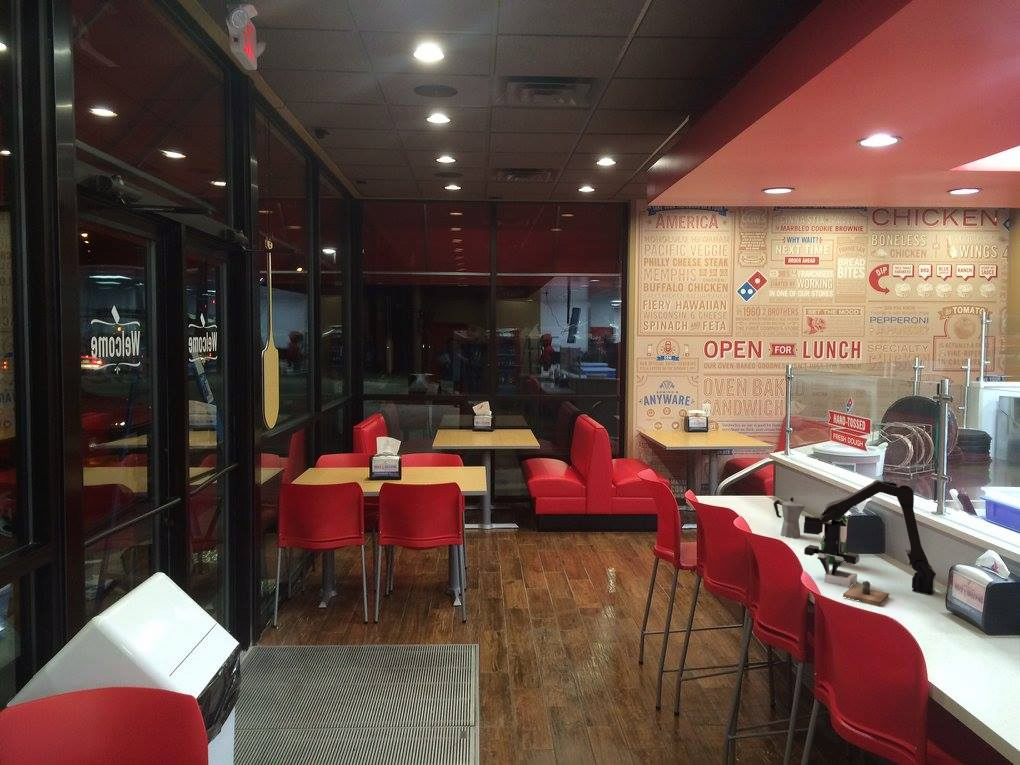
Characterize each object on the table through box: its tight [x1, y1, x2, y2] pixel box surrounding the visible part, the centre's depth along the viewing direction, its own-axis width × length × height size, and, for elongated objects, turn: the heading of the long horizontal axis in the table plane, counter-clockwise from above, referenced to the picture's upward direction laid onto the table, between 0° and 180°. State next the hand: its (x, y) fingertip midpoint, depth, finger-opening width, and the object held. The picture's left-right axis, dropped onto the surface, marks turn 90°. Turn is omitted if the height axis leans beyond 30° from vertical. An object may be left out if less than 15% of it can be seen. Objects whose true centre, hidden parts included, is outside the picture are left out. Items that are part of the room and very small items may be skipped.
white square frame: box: [824, 568, 858, 588], centre depth 275 cm, size 9×9×3 cm
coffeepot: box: [773, 497, 807, 539], centre depth 341 cm, size 15×9×18 cm, turn 44°
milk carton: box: [820, 514, 848, 567], centre depth 299 cm, size 9×9×20 cm
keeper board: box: [842, 580, 890, 607], centre depth 258 cm, size 12×12×6 cm
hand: (830, 576), depth 278 cm, fingers closed on white square frame
